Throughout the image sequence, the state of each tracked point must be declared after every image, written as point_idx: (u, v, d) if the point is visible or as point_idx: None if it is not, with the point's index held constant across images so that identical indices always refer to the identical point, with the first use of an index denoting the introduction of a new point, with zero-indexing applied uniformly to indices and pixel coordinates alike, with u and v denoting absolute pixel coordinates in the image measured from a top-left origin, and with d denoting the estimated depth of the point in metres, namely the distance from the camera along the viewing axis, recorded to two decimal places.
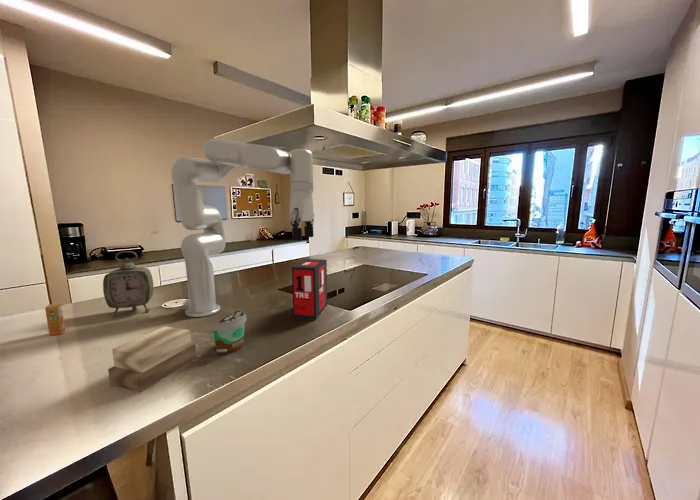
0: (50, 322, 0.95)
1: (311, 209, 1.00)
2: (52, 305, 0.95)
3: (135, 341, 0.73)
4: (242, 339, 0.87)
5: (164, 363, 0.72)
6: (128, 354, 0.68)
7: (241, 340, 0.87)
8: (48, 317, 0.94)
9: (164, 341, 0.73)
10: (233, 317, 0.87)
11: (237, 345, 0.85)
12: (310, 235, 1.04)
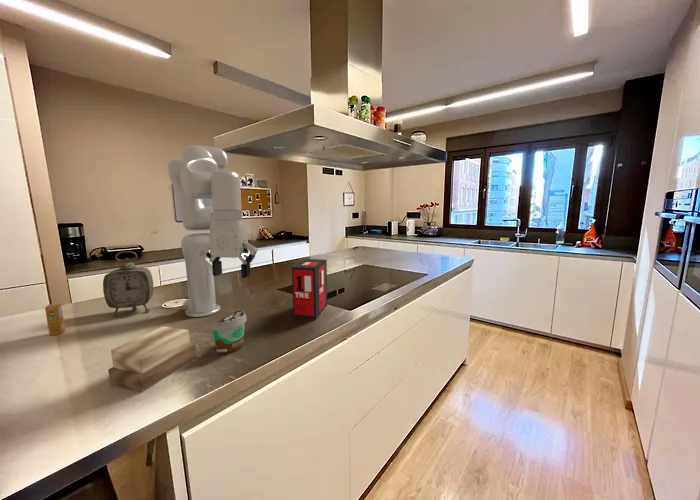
0: (50, 322, 0.95)
1: None
2: (52, 305, 0.95)
3: (134, 342, 0.73)
4: (242, 339, 0.87)
5: (164, 363, 0.72)
6: (127, 354, 0.67)
7: (241, 340, 0.87)
8: (48, 317, 0.94)
9: (163, 341, 0.73)
10: (233, 317, 0.87)
11: (237, 345, 0.85)
12: (220, 272, 0.86)
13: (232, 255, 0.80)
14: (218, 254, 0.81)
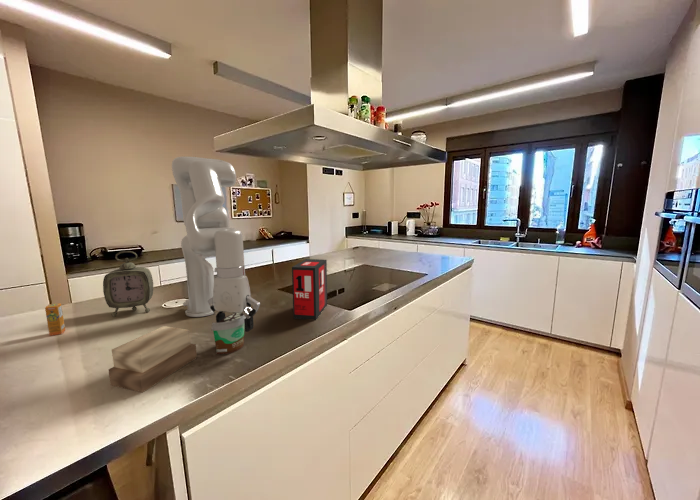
0: (50, 322, 0.95)
1: None
2: (52, 305, 0.95)
3: (134, 341, 0.73)
4: (242, 339, 0.87)
5: (164, 363, 0.72)
6: (128, 354, 0.68)
7: (241, 340, 0.87)
8: (48, 317, 0.94)
9: (164, 341, 0.73)
10: (233, 317, 0.87)
11: (237, 345, 0.85)
12: None
13: (235, 311, 0.82)
14: (222, 309, 0.83)
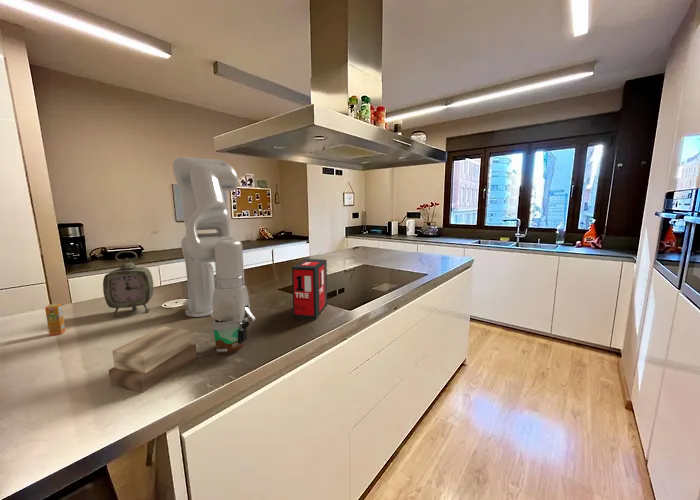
0: (50, 322, 0.95)
1: None
2: (52, 305, 0.95)
3: (135, 342, 0.73)
4: None
5: (165, 363, 0.72)
6: (130, 355, 0.67)
7: None
8: (48, 317, 0.94)
9: (165, 341, 0.73)
10: None
11: (237, 345, 0.85)
12: None
13: (234, 320, 0.83)
14: (221, 318, 0.84)
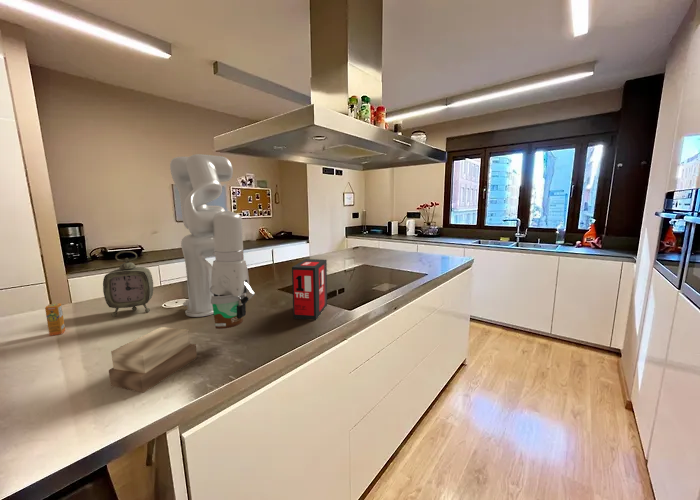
0: (50, 322, 0.95)
1: None
2: (52, 305, 0.95)
3: (133, 342, 0.72)
4: None
5: (165, 363, 0.72)
6: (129, 355, 0.67)
7: None
8: (48, 317, 0.94)
9: (164, 341, 0.73)
10: None
11: (236, 320, 0.85)
12: None
13: (233, 295, 0.82)
14: (220, 293, 0.83)
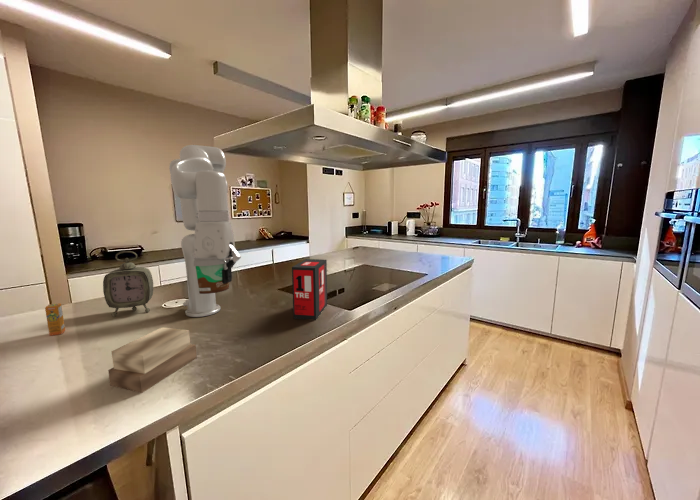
0: (50, 322, 0.95)
1: None
2: (52, 305, 0.95)
3: (134, 342, 0.72)
4: None
5: (164, 364, 0.72)
6: (129, 355, 0.67)
7: None
8: (48, 317, 0.94)
9: (164, 341, 0.73)
10: None
11: (221, 285, 0.80)
12: None
13: (218, 257, 0.78)
14: (204, 256, 0.79)
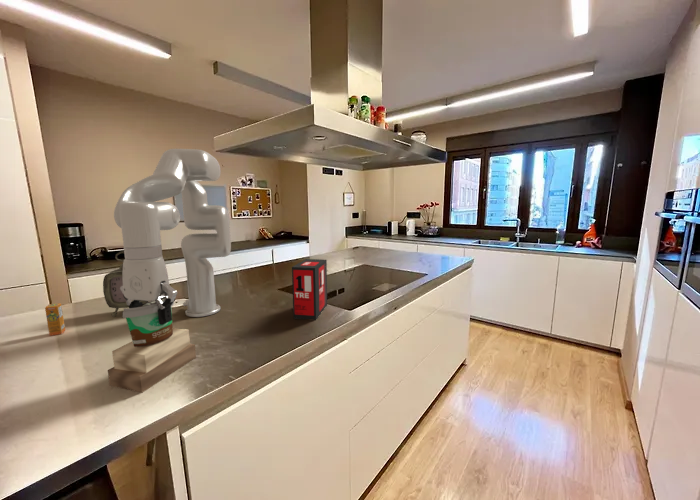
0: (50, 322, 0.95)
1: None
2: (52, 305, 0.95)
3: None
4: (167, 328, 0.74)
5: (164, 363, 0.72)
6: (130, 355, 0.67)
7: (166, 329, 0.73)
8: (48, 317, 0.94)
9: (165, 341, 0.73)
10: (155, 303, 0.74)
11: (160, 335, 0.72)
12: None
13: (147, 299, 0.69)
14: (132, 297, 0.70)
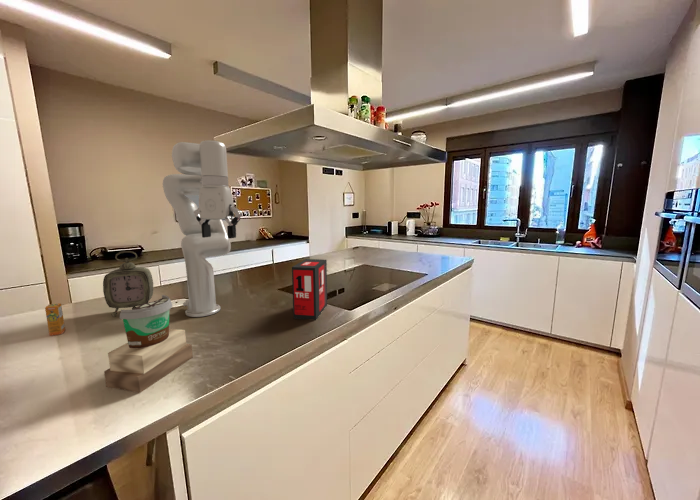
0: (50, 322, 0.95)
1: None
2: (52, 305, 0.95)
3: None
4: (164, 331, 0.73)
5: (162, 364, 0.72)
6: (127, 356, 0.67)
7: (162, 332, 0.73)
8: (48, 317, 0.94)
9: None
10: (153, 305, 0.73)
11: (155, 338, 0.71)
12: (209, 235, 0.95)
13: (219, 217, 0.88)
14: (207, 216, 0.90)
